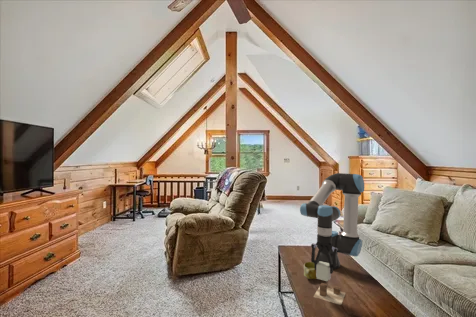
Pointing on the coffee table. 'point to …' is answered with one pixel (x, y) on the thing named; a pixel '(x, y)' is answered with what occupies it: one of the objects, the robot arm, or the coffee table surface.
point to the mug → (309, 270)
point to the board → (332, 295)
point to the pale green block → (322, 270)
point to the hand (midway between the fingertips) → (323, 277)
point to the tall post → (323, 289)
